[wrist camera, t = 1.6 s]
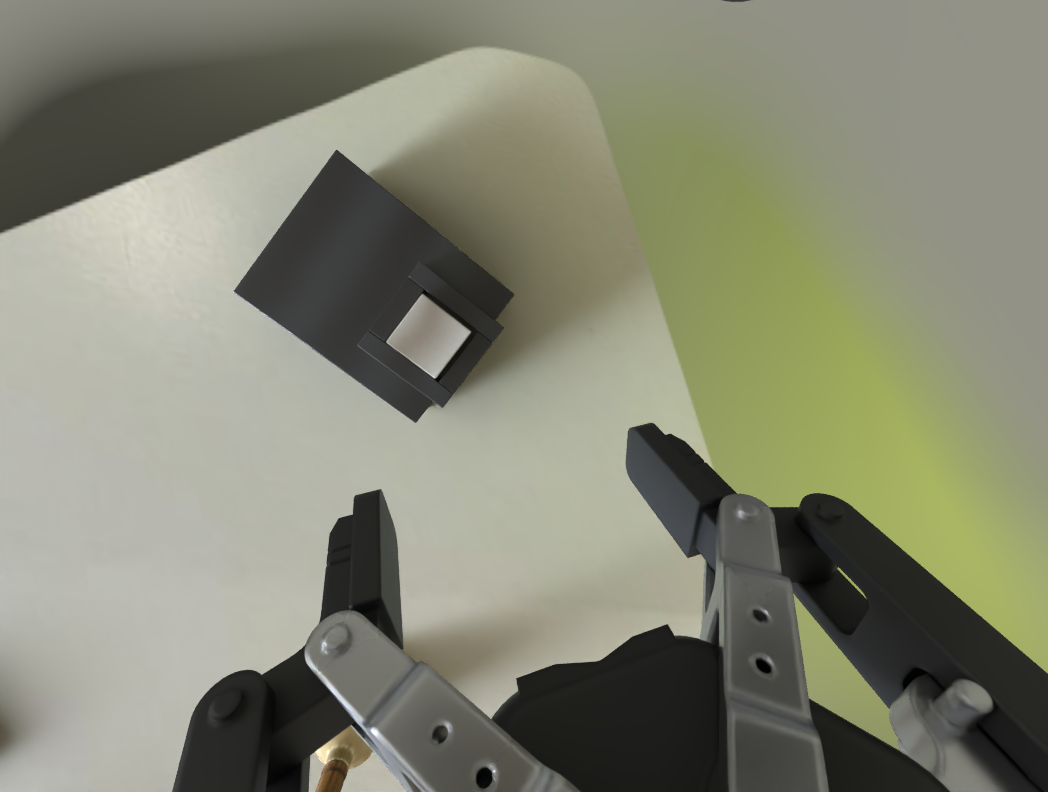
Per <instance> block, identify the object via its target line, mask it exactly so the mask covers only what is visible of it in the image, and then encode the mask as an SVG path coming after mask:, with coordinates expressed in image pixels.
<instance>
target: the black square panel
mask: <svg viewBox="0 0 1048 792" xmlns="http://www.w3.org/2000/svg"><path fill="white" fill-rule="evenodd" d="M234 293H235V294H237V295H238V296H240V297H241V298H242V299H244V300H245V301H247V302H248V303H249V304H251V305H252V306H253V307H255V308H256V309H258V310H259V311H260V312H262V313H263V314H265V315H266V316H267V317H269V318H270V319H272V320H273V321H274V322H276V323H277V324H279V325H280V326H281V327H283V328H284V329H286V330H287V331H288V332H290V333H291V334H292V335H294V336H295V337H297V338H298V339H299V340H301V341H302V342H304V343H305V344H306V345H308V346H309V347H311V348H312V349H313V350H315V351H316V352H318V353H319V354H320V355H322V356H323V357H325V358H326V359H327V360H329V361H330V362H331V363H333V364H334V365H336V366H337V367H338V368H340V369H341V370H343V371H344V372H345V373H347V374H348V375H350V376H351V377H352V378H354V379H355V380H357V381H358V382H359V383H361V384H362V385H364V386H365V387H366V388H368V389H369V390H370V391H372V392H373V393H375V394H376V395H377V396H379V397H380V398H382V399H383V400H384V401H386V402H387V403H389V404H390V405H391V406H393V407H394V408H396V409H397V410H398V411H400V412H401V413H403V414H404V415H405V416H407V417H408V418H409V419H411V420H412V421H414V422H415V423H416V422H417V421H418V420H419V418H420V417H421V416H422V414H423V413H424V412H425V411H426V409H427V408H428V407H429V405H430V404H431V403H432V401H433V402H435V403H436V404H437V405H439V406H440V407H442V408H443V407H444V405H445V404H446V403H447V402H448V400H449V399H450V398H451V396H452V395H453V393H455V391H456V390H457V389H458V387H459V386H460V385H461V383H462V382H463V381H464V380H465V378H466V377H467V376H468V374H469V373H470V372H471V370H472V369H473V368H474V367H475V365H476V364H477V363H478V361H479V360H480V359H481V358H482V356H483V355H484V354H485V352H486V351H487V350H488V348H489V347H490V346H491V345H492V343H493V342H494V341H495V339H496V338H497V337H498V336H499V334H500V333H501V332H502V330H503V329H504V327H502V326H501V325H500V324H499V323H497V322H496V321H495V320H496V318H497V317H498V316H499V314H500V313H501V312H502V310H503V309H504V308H505V307H506V305H507V304H508V303H509V301H510V300H511V299H512V297H513V296H514V294H513V293H512V292H511V291H510V290H508V289H507V288H506V287H505V286H503V285H502V284H501V283H500V282H499V281H497V280H496V279H495V278H494V277H492V276H491V275H490V274H489V273H487V272H486V271H485V270H484V269H483V268H481V267H480V266H479V265H478V264H476V263H475V262H474V261H473V260H471V259H470V258H469V257H468V256H467V255H465V254H464V253H463V252H462V251H460V250H459V249H458V248H457V247H456V246H454V245H453V244H452V243H451V242H449V241H448V240H447V239H446V238H444V237H443V236H442V235H441V234H440V233H438V232H437V231H436V230H435V229H433V228H432V227H431V226H430V225H429V224H427V223H426V222H425V221H424V220H422V219H421V218H420V217H419V216H417V215H416V214H415V213H414V212H413V211H411V210H410V209H409V208H408V207H406V206H405V205H404V204H403V203H402V202H400V201H399V200H398V199H397V198H395V197H394V196H393V195H392V194H390V193H389V192H388V191H387V190H386V189H384V188H383V187H382V186H381V185H379V184H378V183H377V182H376V181H374V180H373V179H372V178H371V177H370V176H368V175H367V174H366V173H365V172H363V171H362V170H361V169H360V168H359V167H357V166H356V165H355V164H354V163H352V162H351V161H350V160H349V159H347V158H346V157H345V156H344V155H343V154H341V153H340V152H339V151H338V150H336V151H335V152H334V154H333V155H332V156H331V158H330V159H329V160H328V162H327V163H326V165H325V166H324V167H323V169H322V170H321V171H320V173H319V174H318V176H317V177H316V178H315V180H314V181H313V183H312V184H311V185H310V187H309V188H308V189H307V191H306V192H305V194H304V195H303V196H302V198H301V199H300V200H299V202H298V203H297V205H296V206H295V207H294V209H293V210H292V211H291V213H290V214H289V216H288V217H287V218H286V220H285V221H284V223H283V224H282V225H281V227H280V228H279V229H278V231H277V232H276V234H275V235H274V236H273V238H272V239H271V240H270V242H269V243H268V245H267V246H266V247H265V249H264V250H263V251H262V253H261V254H260V256H259V257H258V258H257V260H256V261H255V262H254V264H253V265H252V267H251V268H250V269H249V271H248V272H247V274H246V275H245V276H244V278H243V279H242V280H241V282H240V283H239V285H238V286H237V287H236V289H235V290H234ZM422 294H424V295H425V296H427V297H428V298H429V299H431V300H432V301H433V302H435V303H436V304H437V305H438V306H440V307H441V308H442V309H444V310H445V311H446V312H447V313H449V314H450V315H451V316H452V317H454V318H455V319H456V320H458V321H459V322H460V323H461V324H463V325H464V326H465V327H467V328H468V329H469V330H470V331H471V332H472V333H471V334H470V335H469V337H468V338H467V339H466V341H465V342H464V343H463V344H462V346H461V347H460V348H459V350H458V351H457V352H456V354H455V355H454V356H453V357H452V359H451V360H450V361H449V363H448V364H447V365H446V367H445V368H444V369H443V371H442V372H441V373H440V374H439V376H438V377H437V378H433V377H432V376H431V375H429V374H428V373H427V372H425V371H424V370H423V369H421V368H420V367H419V366H417V365H416V364H415V363H413V362H412V361H411V360H409V359H408V358H406V357H405V356H404V355H402V354H401V353H400V352H398V351H397V350H396V349H394V348H393V347H392V346H390V345H389V344H388V343H387V342H386V341H387V340H388V338H389V337H390V336H391V334H392V333H393V332H394V330H395V329H396V328H397V326H398V325H399V324H400V322H401V321H402V320H403V318H404V317H405V316H406V314H407V313H408V312H409V310H410V309H411V308H412V307H413V305H414V304H415V303H416V301H417V300H418V299H419V297H420V296H421V295H422Z"/></svg>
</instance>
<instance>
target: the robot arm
mask: <svg viewBox="0 0 1048 792" xmlns="http://www.w3.org/2000/svg"><path fill="white" fill-rule="evenodd" d="M626 469H627V473H628V476H629V478H630V480H631V481H632V483H633V484H634V485H635V487H636V488H637V489H638V491H639V492H640V494H641V495H642V496H643V498H644V499H645V500H646V502H647V503H648V504H649V506H650V507H651V509H652V510H653V511H654V513H655V514H656V515H657V517H658V518H659V519H660V521H661V522H662V524H663V525H664V526H665V528H666V529H667V530H668V532H669V533H670V535H671V536H672V537H673V539H674V540H675V541H676V543H677V544H678V545H679V547H680V548H681V550H682V551H683V552H684V554H685V555H686V556H687V558H690V557H693V556H696V555H699V554H701V555H702V556H703V557H704V559H705V560H706V561H705V565H704V585H703V613H702V627H701V634H700V639H698V638H693V637H688V636H674V634H673V633H672V631H671V629H670V628H669V626H668V624H667V625H664V626H661V627H658V628H655V629H653V630H650V631H647V632H644V633H642V634H639V635H636V636H633V637H631V638H630V639H629V640H627V641H626V642H625V643H623V644H622V645H621V646H619V647H618V648H617V649H615V650H614V651H613V652H611V653H610V654H609V655H608V656H606V657H605V658H604V659H602V660H600V661H597V662H583V663H567V664H555V665H552V666H549V667H547V668H544V669H541V670H538V671H535V672H533V673H530V674H527V675H524V676H521V677H519V678H516V680H517V686H518V692H516V693H515V694H514V695H512V696H511V697H510V698H509V699H508V700H507V701H506V702H505V703H504V704H503V705H502V706H501V707H500V708H499V709H498V711H497V712H496V713H495V714H494V716H493V717H492V719H490V718H489V717H488V716H487V715H486V714H484V713H483V712H482V711H481V710H480V709H479V708H478V707H476V706H475V705H474V704H473V703H472V702H471V701H470V700H468V699H467V698H466V697H465V696H464V695H463V694H462V693H460V692H459V691H458V690H457V689H456V688H455V687H454V686H452V685H451V684H450V683H449V682H448V681H447V680H446V679H444V678H443V677H442V676H441V675H440V674H439V673H438V672H436V671H435V670H434V669H433V668H432V667H431V666H429V665H428V664H426V663H425V662H423V661H419V662H415V661H414V660H413V659H411V658H410V657H409V656H408V655H407V654H406V653H405V652H404V651H402V650H403V633H402V615H401V598H400V581H399V563H398V546H397V537H396V532H395V527H394V524H393V521H392V518H391V515H390V512H389V509H388V506H387V503H386V501H385V498H384V495H383V492H382V490H381V489H379V490H375V491H371V492H367V493H363V494H359V495H355V497H354V506H353V515H349V516H345V517H342V518H339V519H338V521H337V522H336V524H335V526H334V528H333V529H332V531H331V533H330V536H329V545H328V555H327V567H326V573H325V582H324V592H323V601H322V610H321V618H320V622H319V624H318V626H317V627H316V628H315V629H314V630H313V631H312V633H311V635H310V636H309V638H308V640H307V643H306V645H305V646H304V647H303V648H302V649H300V650H299V651H298V652H297V653H296V654H294V655H293V656H291V657H290V658H288V659H287V660H285V661H283V662H282V663H280V664H279V665H277V666H275V667H274V668H272V669H271V670H269V671H267V672H266V673H264V674H262V675H261V674H260V673H258V672H256V671H253V670H242V671H238V672H235V673H233V674H230V675H228V676H227V677H225V678H223V679H222V680H220V681H219V682H218V683H216V684H215V685H214V686H213V687H212V688H211V689H210V690H209V691H208V692H207V693H206V694H205V695H204V696H203V698H202V699H201V700H200V702H199V703H198V705H197V706H196V708H195V710H194V712H193V714H192V717H191V720H190V724H189V728H188V732H187V736H186V740H185V744H184V748H183V751H182V755H181V759H180V763H179V767H178V771H177V775H176V779H175V783H174V787H173V791H172V792H308V791H309V770H310V755H311V754H313V753H314V752H315V751H317V750H318V749H319V748H321V747H322V746H323V745H325V744H326V743H328V742H329V741H330V740H332V739H333V738H334V737H336V736H337V735H338V734H340V733H341V732H342V731H344V730H345V729H347V728H348V727H349V726H351V727H352V728H353V729H354V730H355V731H356V733H357V734H358V735H359V736H360V737H361V738H362V739H363V741H364V742H365V743H366V744H367V745H368V746H369V747H370V749H371V750H372V751H373V752H374V753H375V754H376V755H377V757H378V758H379V759H380V760H381V761H382V762H383V763H384V765H385V766H386V767H387V768H388V769H389V770H390V771H391V772H392V774H393V775H394V776H395V777H396V778H397V780H398V781H399V782H400V783H401V785H402V786H403V787H404V789H405V790H406V791H407V792H1048V674H1047V673H1046V672H1045V671H1044V670H1043V669H1041V668H1040V667H1039V666H1038V665H1037V664H1036V663H1034V662H1033V661H1032V660H1031V659H1030V658H1029V657H1027V656H1026V655H1025V654H1024V653H1023V652H1022V651H1020V650H1019V649H1018V648H1017V647H1016V646H1015V645H1013V644H1012V643H1011V642H1010V641H1008V639H1006V638H1005V637H1004V636H1003V635H1002V634H1001V633H999V632H998V631H997V630H996V629H995V628H993V627H992V626H991V625H990V624H989V623H988V622H987V621H985V620H984V619H983V618H982V617H981V616H979V615H978V614H977V613H976V612H975V611H974V610H972V609H971V608H970V607H969V606H968V605H967V604H965V603H964V602H963V601H962V600H961V599H960V598H958V597H957V596H956V595H955V594H954V593H953V592H951V591H950V590H949V589H948V588H947V587H945V586H944V585H943V584H942V583H941V582H940V581H938V580H937V579H936V578H935V577H934V576H933V575H931V574H930V573H929V572H928V571H927V570H926V569H924V568H923V567H922V566H921V565H920V564H918V563H917V562H916V561H915V560H914V559H913V558H912V557H910V556H909V555H908V554H907V553H906V552H904V551H903V550H902V549H901V548H900V547H899V546H898V545H896V544H895V543H894V542H893V541H891V540H890V539H889V538H888V537H887V536H886V535H885V534H883V533H882V532H881V531H880V530H879V529H878V528H876V527H875V526H874V525H873V524H872V523H871V522H869V521H868V520H867V519H866V518H865V517H864V516H862V515H861V514H860V513H859V512H858V511H857V510H855V509H854V508H853V507H852V506H851V505H849V504H848V503H846V502H845V501H843V500H841V499H839V498H837V497H834V496H831V495H827V494H821V493H814V494H809V495H807V496H805V497H804V498H803V499H802V501H801V503H800V506H799V507H779V508H778V507H768V506H767V505H766V504H765V503H764V502H762V501H761V500H759V499H757V498H755V497H752V496H750V495H745V494H737V493H736V492H735V491H734V490H733V489H732V488H731V487H730V486H729V485H728V484H727V483H726V482H725V481H724V480H723V479H722V478H721V477H720V476H719V475H718V474H717V473H716V472H715V471H714V470H713V469H712V468H711V467H710V466H709V465H708V464H707V463H704V460H703V459H702V458H701V457H700V456H699V455H698V454H696V453H695V451H694V450H693V449H692V448H691V447H690V446H689V445H688V444H687V443H686V442H685V441H683V440H681V439H679V438H677V437H676V436H674V435H672V434H668V435H665V434H664V433H663V432H662V431H661V430H660V429H659V428H658V427H657V426H656V425H655V424H653V423H648V424H644V425H640V426H636V427H632V428H630V429H629V431H628V439H627V452H626ZM838 567H839V568H840V569H841V570H842V571H843V572H844V573H845V574H846V575H847V576H848V577H849V578H850V579H851V580H852V581H853V582H854V583H855V584H856V585H857V586H858V587H859V588H860V589H861V590H862V592H863V593H864V594H865V596H866V598H867V599H866V598H865V597H864V596H863V595H862V594H861V593H860V592H859V591H858V590H857V589H856V588H855V587H854V586H853V585H852V584H851V583H850V582H849V581H848V580H847V579H846V578H845V577H844V576H843V575H842V574H841V573H840V571H839V570H837V568H838ZM793 593H794V594H795V596H796V597H797V598H798V599H799V600H800V602H801V603H802V604H803V605H804V607H805V608H806V609H807V610H808V611H809V613H810V614H811V615H812V616H813V617H814V619H815V620H816V621H817V622H818V623H819V625H820V626H821V627H822V628H823V629H824V631H825V632H826V633H827V634H828V636H829V637H830V638H831V639H832V640H833V642H834V643H835V644H836V645H837V646H838V648H839V649H840V650H841V651H842V652H843V654H844V655H845V656H846V657H847V658H848V660H849V661H850V662H851V663H852V664H853V666H854V667H855V668H856V669H857V670H858V672H859V673H860V674H861V675H862V677H863V678H864V679H865V680H866V681H867V682H868V684H869V685H870V686H871V687H872V689H873V690H874V691H875V692H876V693H877V695H878V696H879V697H880V698H881V699H882V701H883V702H884V703H885V704H886V705H887V707H888V708H889V709H890V710H889V718H890V723H891V725H892V728H893V730H894V732H895V734H896V736H897V737H898V746H899V748H900V750H901V752H900V751H899V750H897V749H895V748H893V747H892V746H890V745H889V744H887V743H885V742H883V741H881V740H880V739H878V738H876V737H875V736H873V735H871V734H869V733H868V732H866V731H864V730H863V729H861V728H859V727H857V726H856V725H854V724H852V723H850V722H849V721H847V720H845V719H843V718H842V717H840V716H838V715H837V714H835V713H833V712H831V711H829V710H828V709H826V708H824V707H823V706H821V705H819V704H818V703H816V702H814V701H812V700H811V699H809V698H808V691H807V685H806V678H805V671H804V664H803V657H802V650H801V644H800V637H799V630H798V623H797V616H796V610H795V603H794V596H793Z"/></svg>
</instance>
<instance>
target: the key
mask: <svg viewBox="0 0 1048 792" xmlns="http://www.w3.org/2000/svg"><path fill="white" fill-rule="evenodd" d="M471 333H472V332H471V331H470V330H469V329H468V328H467V327H465V326H464V325H463V324H461V323H460V322H459V321H458V320H456V319H455V318H454V317H452V316H451V315H450V314H449V313H447V312H446V311H445V310H444V309H442V308H441V307H440V306H438V305H437V304H436V303H435V302H433V301H432V300H431V299H429V298H428V297H427V296H425V295H424V294H422V295H421V296H420V297H419V299H418V300H417V301H416V303H415V304H414V305H413V307H412V308H411V309H410V310H409V312H408V313H407V314H406V316H405V317H404V318H403V320H402V321H401V322H400V324H399V325H398V326H397V328H396V329H395V330H394V332H393V333H392V334H391V336H390V337H389V338H388V340H387V341H386V342H387V343H388V344H389V345H390V346H392V347H393V348H394V349H396V350H397V351H398V352H400V353H401V354H402V355H404V356H405V357H406V358H408V359H409V360H411V361H412V362H413V363H415V364H416V365H417V366H419V367H420V368H421V369H423V370H424V371H425V372H427V373H428V374H429V375H431V376H432V377H433V378H437V377H438V376H439V374H440V373H441V372H442V371H443V369H444V368H445V367H446V365H447V364H448V363H449V361H450V360H451V359H452V357H453V356H454V355H455V354H456V352H457V351H458V350H459V348H460V347H461V346H462V344H463V343H464V342H465V341H466V339H467V338H468V337H469V335H470V334H471Z"/></svg>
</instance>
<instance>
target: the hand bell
mask: <svg viewBox="0 0 1048 792" xmlns="http://www.w3.org/2000/svg"><path fill="white" fill-rule="evenodd" d="M315 752H316V754H317V756H318V758H319V759H320V761H321V762H322V763H323V764H325V766H324V768H323V770H322V773H321V777H320V780H319V783H318V786H317V789H316V792H340V791H341V789H342V786H343V782H344V780H345V778H346V776H347V772H348V769H351V768H354V767H357V766H359V765H361V764H362V763H363V762H365V761H366V760H367V759H368V758H369V757H370V755H371V753H372V752H373V751H372V750H371V749H370V747H369V746H368V745H367V744H366V743H365V742H364V741H363V739H362V738H361V737H360V736H359V735H358V734H357V733H356V731H355V730H354V729H353V728H352V727H351V726H349V727H348V728H347V729H345V730H344V731H342V732H341V733H340V734H338V735H337V736H336V737H334V738H333V739H332V740H330V741H329V742H328V743H326V744H325V745H323V746H322V747H321V748H319V749H318V750H317V751H315Z"/></svg>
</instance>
